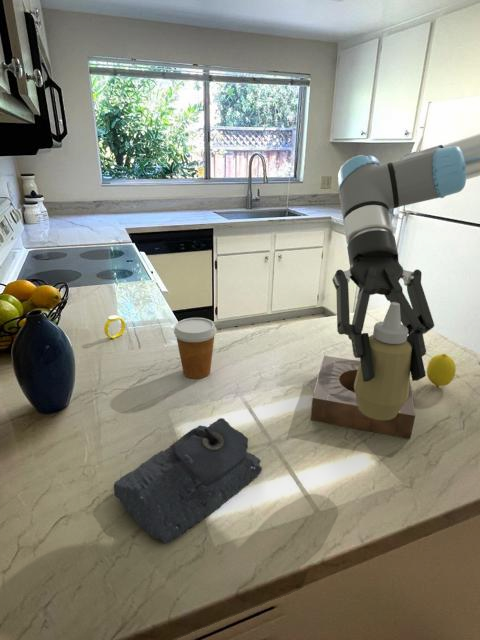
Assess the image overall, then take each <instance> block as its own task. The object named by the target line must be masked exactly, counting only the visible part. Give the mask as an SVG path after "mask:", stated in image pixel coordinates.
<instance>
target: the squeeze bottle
mask: <svg viewBox="0 0 480 640" xmlns="http://www.w3.org/2000/svg"><path fill="white" fill-rule="evenodd" d="M407 336H408V329H407V327H405V326H404V325H403V324H402V322H401V316H400V304H399V303H396V302H392V303H390V305H389V307H388V309H387V311H386V314H385V316H384V319H383V321H379V322H376V323H375V324H374V326H373V332H372V335H371V334H370V335H369V342H370V348H371V355H372V361H373V368H374V374H375V377H374V378H373V379H371V380H370V381H366V382H363V375H362V368H361V361H360V360H359V361H360V363H359V367H358V371H357V375H356V379H355V382H354V390H353V391H354V393H355V394H356V399H357V403H358V407H359V410H360V411H361V412H362V413H363V414H364V415H366V416H367V417H370V418H373V419H376V420H391V419H393V418H394V417H396V415H397V414H398V412H399V411H400V410H401V408H402V407H403V405H404V404H405V402H406V401H407V398H408V396H409V382H410V383H411V372H410V368H411V356H412V346H411V344H410V343H409V342H408V341H407Z"/></svg>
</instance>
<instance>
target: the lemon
mask: <svg viewBox="0 0 480 640" xmlns="http://www.w3.org/2000/svg"><path fill="white" fill-rule="evenodd" d="M456 372H457V371H456V363H455V361H454V359H453V358H452V357H451V356H449V355H448V354H447V353H439V354H435V355H434V356H433V357H431V358H430V360H429V361H428V364H427V367H426V377H427V378H428V380H429V381H430V382H431V383H432V384H434V385H435V386H436V387H442V386H447V385H449V384H450V383H451V382H452V381H453V380H454V378H455V375H456Z"/></svg>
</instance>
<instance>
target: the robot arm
mask: <svg viewBox="0 0 480 640" xmlns="http://www.w3.org/2000/svg"><path fill="white" fill-rule="evenodd" d="M477 177H480V131H479V132H476V133H473V134H470V135H466V136H464V137H463V136H462V137H460V138H457V139H454V140H451V141H448V142H444V143H441V144H439V145H436V146H431V147H429V148H426V149H422V150H418V151H412V152H410V153H407V154H405V155H403V156H402V157H400V158H399V159H398V160H395V161H392V162H386V163H385V162H384V163H383V164H381V163H380V161H379V159H378V158H376V157H375V156H373V155H371V154H370V155H364V154H359V155H356V156H353V157H351V158H350V159H348V160H346V161H345V162H344V163H343V164H342V165H341V166H340V169H339V171H338V174H337V181H338V183H337V185H338V191H337V192H338V196H339V202H340V208H341V215H342V221H343V226H344V234H345V241H346V245H347V247H346V249H347V256H348V263H349V269H348V270H343V269H337V270H336V272H335V274H334V275H333V277H332V280H331V281H332V283H333V286H334V288H335V290H336V328H337V329H336V331H337V333H338V334H339V335H345V336H347V338H348V339H349V340H350V341H351V347H352V354H353V356H354V358H355V359H359V361H361V368H362V375H363V382H366V381H370V380H371V379H373V378H374V377H375V374H374V368H373V361H372V355H371V348H370V342H369V336H370V335H369V333H368V332H363V331H364V330H363V329H364V324H365V320H366V316H367V312H368V311H367V310H368V306H369V302H370V297H371V296H373V295H381V296H384V297H385V299H386V300H387V301H388V302H390V304H391V303H392V302H396V303H399V304H400V316H401V324H402V325H404V326H405V327H407V329H408V335H407V341H408V342H409V343H410V344H411V346H412V356H411V368H410V378H411V381H412V382H418V381H419V380H421V379H423V378H425V377H427V373H426V370H425V365H424V360H423V357H424V356H425V355H426V354H427V349H426V343H425V338H424V335H425V334H426V333H428V332H429V331H431V330H433V328H434V327H435V322H434V319H433V316H432V313H431V310H430V306H429V304H428V300H427V297H426V294H425V291H424V288H423V285H422V276H423V275H422V271H421V270H420V269H417V268H416V269H414V270H413V271H410V270H405V269H404V268H403V266H402V265H401V263H400V261H399V252H398V246H397V242H396V236H395V231H394V226H393V222H392V217H391V211H390V210H393V209H397V208H399V207H405V206H408V205H413V204H418V203H422V202H426V201H431V200H436V199H445V197H447V196H451V195H455V194H457V193H458V194H459V193H460V192H462V191H463V190H464V188H465V186H466V182H467V180H469V179H473V178H474V179H475V178H477ZM401 279H402V281H403V286H405V287H406V292H407V295H408V299H409V301H408V299H407V297H406V295H405V293H404V292H403V291H404V289H403V286H402V285H401V283H400V281H401ZM350 281H352V282H353V283H354V284H355V285H356V286H357V287H358V292H357V296H356V303H355V308H354V312H353V318H352V322H351V321H350V319H351V317H350V296H349V294H350V293H349V292H350V291H349V283H350ZM409 302H410V303H409Z"/></svg>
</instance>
